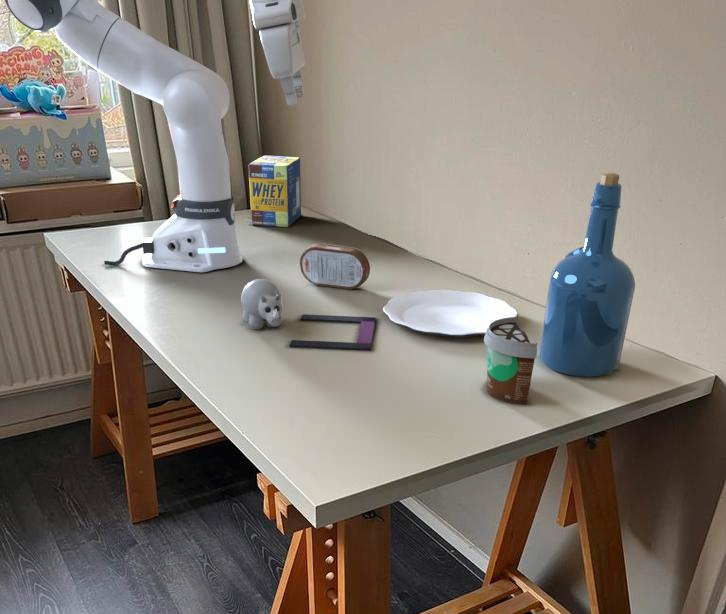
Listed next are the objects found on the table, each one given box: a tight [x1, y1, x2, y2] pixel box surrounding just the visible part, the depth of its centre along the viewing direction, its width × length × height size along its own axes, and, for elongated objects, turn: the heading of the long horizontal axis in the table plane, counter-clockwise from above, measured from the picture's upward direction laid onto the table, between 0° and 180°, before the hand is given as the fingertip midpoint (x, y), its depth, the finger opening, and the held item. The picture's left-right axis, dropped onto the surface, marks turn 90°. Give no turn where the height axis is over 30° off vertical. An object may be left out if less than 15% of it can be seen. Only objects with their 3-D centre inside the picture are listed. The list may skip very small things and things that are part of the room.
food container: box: [483, 316, 538, 405], centre depth 117 cm, size 12×6×10 cm, turn 5°
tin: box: [299, 242, 371, 290], centre depth 162 cm, size 15×3×8 cm, turn 71°
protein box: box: [248, 154, 302, 228], centre depth 211 cm, size 10×15×16 cm
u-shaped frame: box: [289, 313, 377, 352], centre depth 141 cm, size 14×16×1 cm
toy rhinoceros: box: [240, 278, 284, 330], centre depth 139 cm, size 7×12×8 cm, turn 24°
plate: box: [382, 289, 519, 338], centre depth 147 cm, size 25×25×2 cm
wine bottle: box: [539, 172, 636, 378], centre depth 122 cm, size 14×13×30 cm
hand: (296, 101), depth 138 cm, fingers open, 8 cm apart
